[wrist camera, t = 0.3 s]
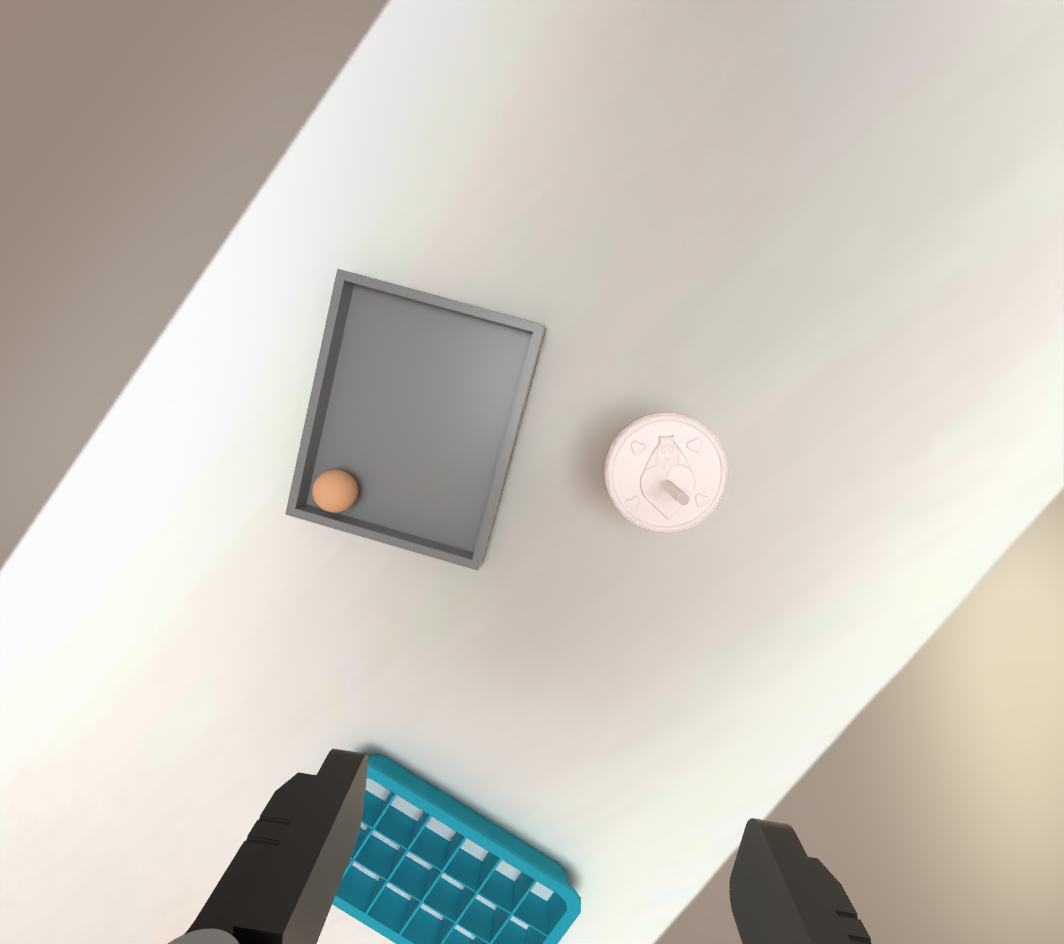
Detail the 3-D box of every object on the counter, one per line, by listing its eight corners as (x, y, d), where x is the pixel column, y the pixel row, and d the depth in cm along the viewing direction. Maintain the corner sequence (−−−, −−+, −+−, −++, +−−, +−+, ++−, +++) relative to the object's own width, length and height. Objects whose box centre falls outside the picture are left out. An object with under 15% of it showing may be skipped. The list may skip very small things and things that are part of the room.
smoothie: (598, 503, 39) (613, 559, 25) (595, 412, 38) (608, 417, 24) (690, 499, 38) (757, 555, 24) (689, 407, 37) (758, 410, 23)
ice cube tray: (369, 731, 43) (354, 756, 40) (587, 866, 43) (588, 901, 40) (301, 841, 44) (281, 873, 41) (511, 971, 44) (506, 1012, 41)
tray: (349, 275, 38) (337, 268, 36) (545, 329, 37) (544, 325, 35) (299, 508, 40) (285, 514, 38) (482, 561, 40) (478, 570, 38)
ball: (329, 462, 39) (309, 467, 36) (368, 473, 39) (352, 479, 36) (320, 501, 40) (300, 509, 37) (359, 512, 40) (342, 521, 37)
